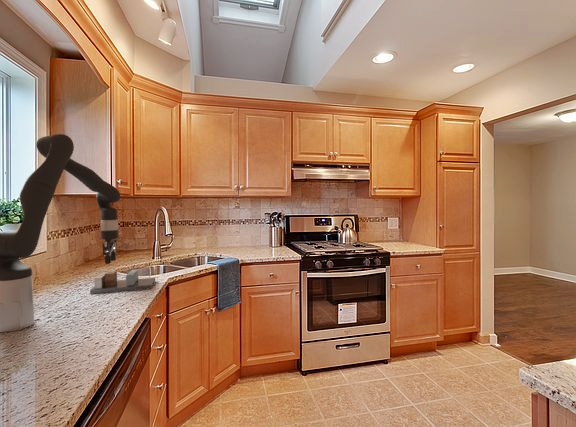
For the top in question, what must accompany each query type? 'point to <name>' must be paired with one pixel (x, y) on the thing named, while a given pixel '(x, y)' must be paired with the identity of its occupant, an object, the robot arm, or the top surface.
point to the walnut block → (111, 278)
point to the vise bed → (120, 285)
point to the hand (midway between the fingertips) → (110, 262)
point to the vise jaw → (131, 277)
